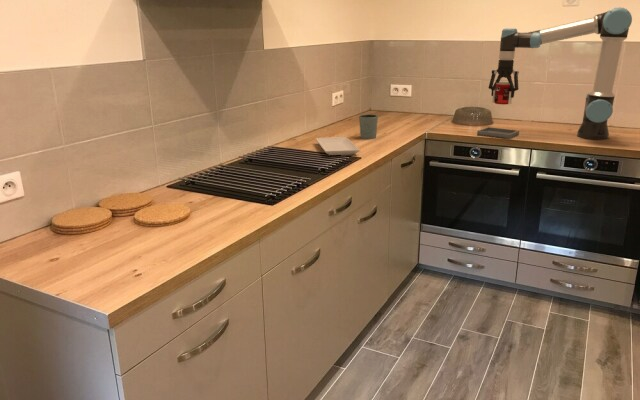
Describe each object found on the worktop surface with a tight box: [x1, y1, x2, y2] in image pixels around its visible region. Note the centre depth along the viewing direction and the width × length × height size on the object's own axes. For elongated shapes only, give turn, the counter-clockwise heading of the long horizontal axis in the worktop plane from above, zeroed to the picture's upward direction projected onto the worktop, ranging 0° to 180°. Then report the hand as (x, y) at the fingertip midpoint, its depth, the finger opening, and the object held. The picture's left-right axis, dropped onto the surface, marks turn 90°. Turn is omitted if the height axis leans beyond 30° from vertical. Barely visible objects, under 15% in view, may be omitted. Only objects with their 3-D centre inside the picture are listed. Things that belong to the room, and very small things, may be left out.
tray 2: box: [476, 126, 520, 140], centre depth 288 cm, size 18×14×2 cm
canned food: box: [493, 81, 511, 105], centre depth 280 cm, size 8×8×11 cm
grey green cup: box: [358, 113, 379, 140], centre depth 284 cm, size 10×10×12 cm
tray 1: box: [315, 136, 361, 156], centre depth 260 cm, size 17×32×4 cm, turn 9°
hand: (501, 103), depth 282 cm, fingers closed on canned food, 8 cm apart
